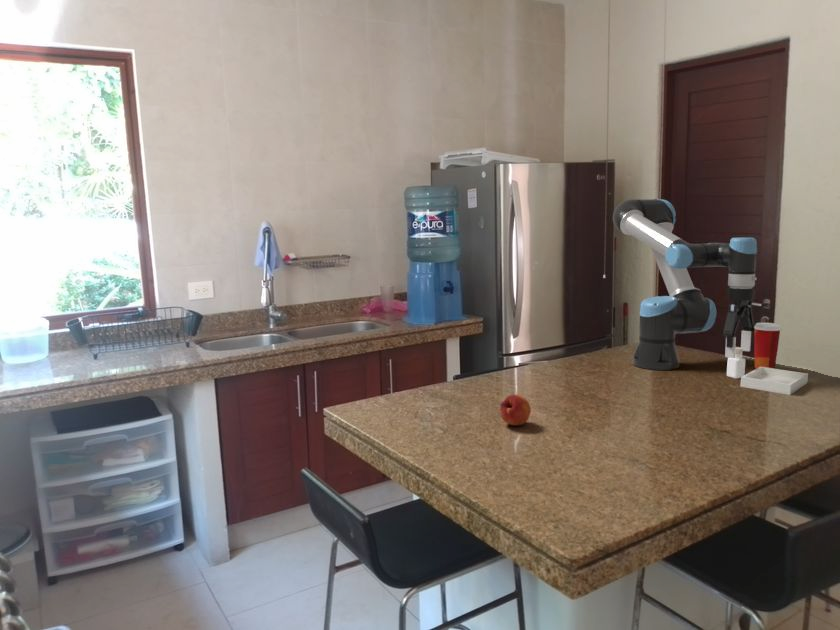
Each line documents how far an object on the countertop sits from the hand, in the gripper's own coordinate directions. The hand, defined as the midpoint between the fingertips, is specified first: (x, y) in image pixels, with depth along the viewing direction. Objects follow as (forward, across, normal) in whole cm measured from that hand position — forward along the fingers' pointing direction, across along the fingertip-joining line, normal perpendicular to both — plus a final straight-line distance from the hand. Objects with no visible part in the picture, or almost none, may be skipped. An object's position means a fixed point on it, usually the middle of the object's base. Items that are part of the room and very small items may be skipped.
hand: (737, 354), depth 211 cm
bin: (+8, -2, -12) cm, 14 cm away
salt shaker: (+8, 0, 0) cm, 8 cm away
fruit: (+8, -85, +24) cm, 89 cm away
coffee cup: (+8, +18, -2) cm, 20 cm away
